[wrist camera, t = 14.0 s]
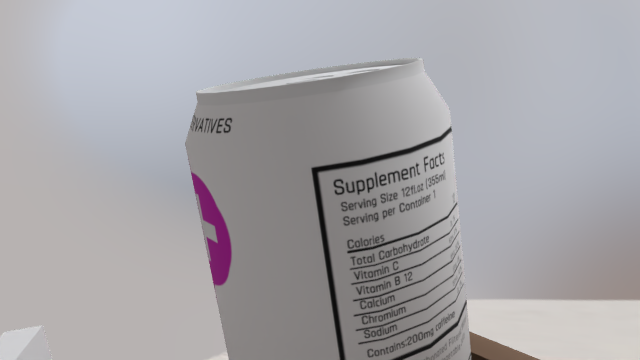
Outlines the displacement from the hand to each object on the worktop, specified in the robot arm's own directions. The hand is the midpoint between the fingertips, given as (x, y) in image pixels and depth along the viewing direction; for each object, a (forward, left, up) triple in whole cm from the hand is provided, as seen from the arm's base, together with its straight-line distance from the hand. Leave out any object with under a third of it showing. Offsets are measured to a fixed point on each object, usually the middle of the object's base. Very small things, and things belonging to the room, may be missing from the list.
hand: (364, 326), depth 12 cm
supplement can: (-4, -6, -10) cm, 12 cm away
